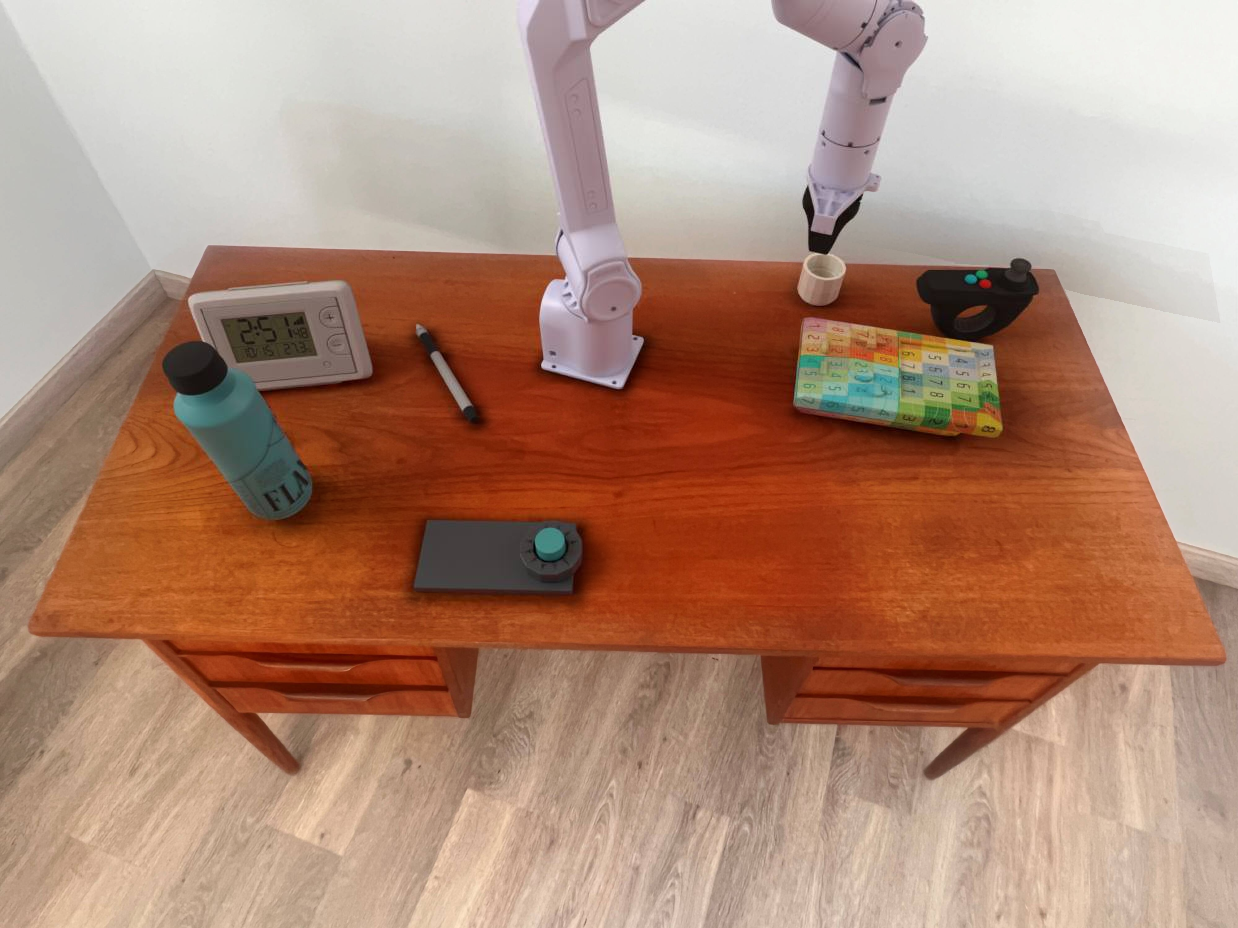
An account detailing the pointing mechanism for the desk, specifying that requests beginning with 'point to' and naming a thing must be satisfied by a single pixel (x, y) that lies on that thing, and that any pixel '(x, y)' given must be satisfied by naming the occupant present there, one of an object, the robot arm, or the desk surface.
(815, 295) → the white cup
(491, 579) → the grey dial base
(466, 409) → the pen
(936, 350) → the puzzle game
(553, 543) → the tare button
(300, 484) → the beverage bottle
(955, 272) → the controller
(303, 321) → the digital clock
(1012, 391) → the desk surface
